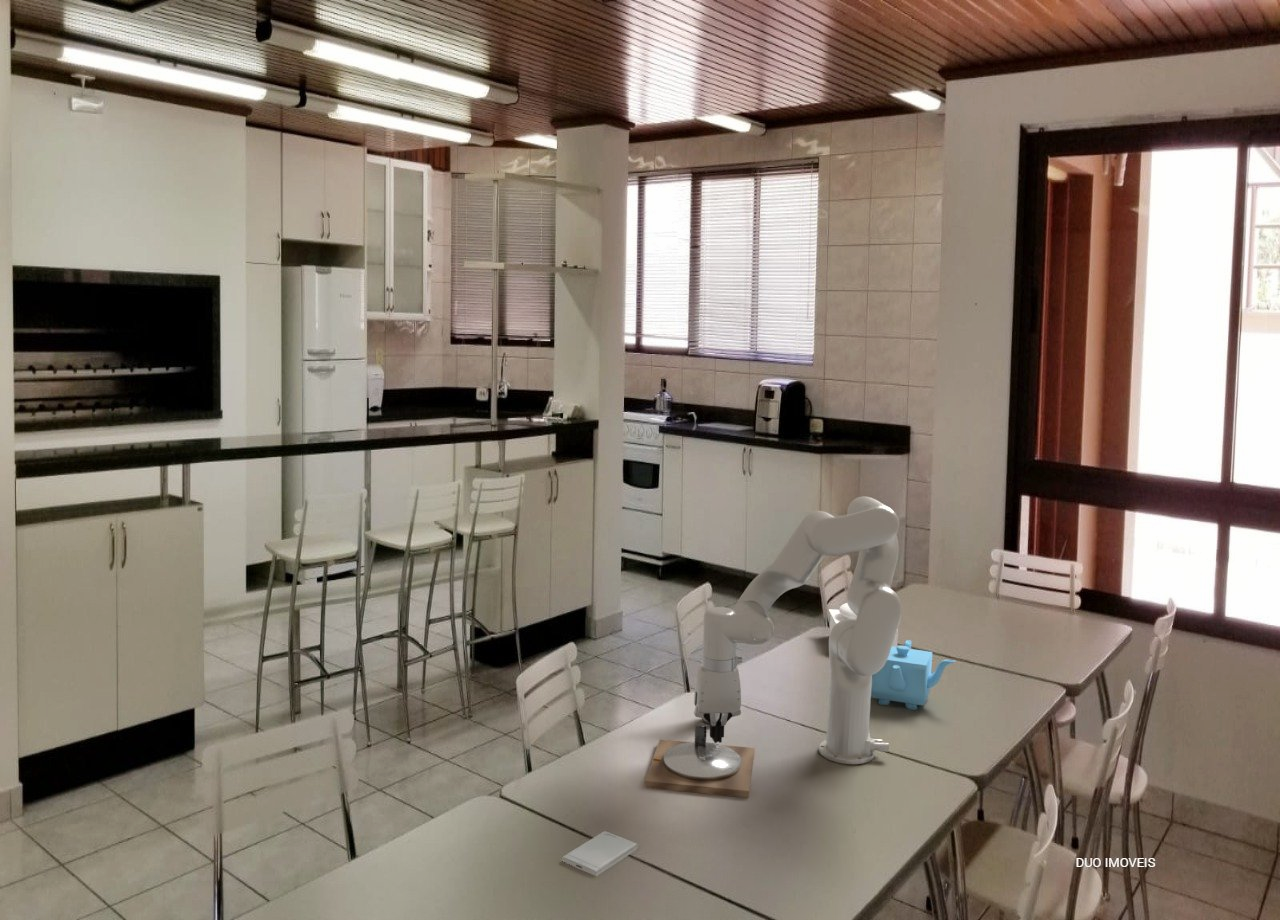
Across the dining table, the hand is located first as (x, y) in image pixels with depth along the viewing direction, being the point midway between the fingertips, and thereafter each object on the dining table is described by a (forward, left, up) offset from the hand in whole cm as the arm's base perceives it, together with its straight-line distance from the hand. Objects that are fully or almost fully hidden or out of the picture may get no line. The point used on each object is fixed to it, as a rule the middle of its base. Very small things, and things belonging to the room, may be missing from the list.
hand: (716, 740), depth 238 cm
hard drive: (+17, +47, -5) cm, 51 cm away
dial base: (+3, +8, -4) cm, 9 cm away
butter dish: (-37, -90, -5) cm, 97 cm away
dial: (+3, +8, -2) cm, 8 cm away
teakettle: (-45, -46, -4) cm, 65 cm away
